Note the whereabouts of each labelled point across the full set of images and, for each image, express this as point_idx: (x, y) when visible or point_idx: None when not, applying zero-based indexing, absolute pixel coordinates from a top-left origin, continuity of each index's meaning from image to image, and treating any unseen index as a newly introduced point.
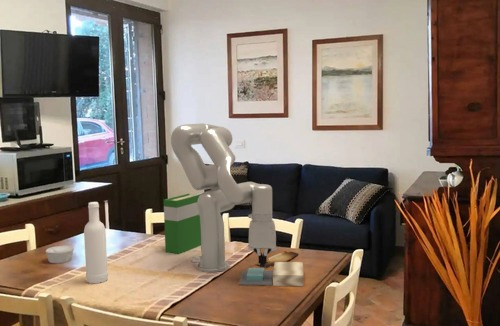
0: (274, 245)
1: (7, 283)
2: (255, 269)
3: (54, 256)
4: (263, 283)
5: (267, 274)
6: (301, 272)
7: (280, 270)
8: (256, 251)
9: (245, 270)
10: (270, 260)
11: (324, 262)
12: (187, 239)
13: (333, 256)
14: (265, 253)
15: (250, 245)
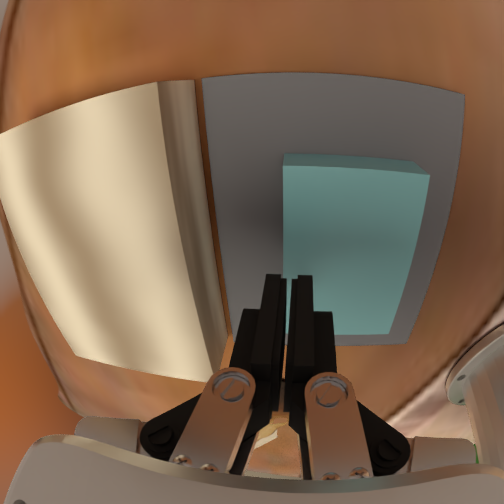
0: (25, 459)
1: None
2: (347, 312)
3: None
4: (272, 92)
5: (261, 288)
6: (5, 195)
7: (121, 226)
8: (368, 432)
9: (394, 342)
10: (267, 426)
11: (85, 384)
12: None
13: (90, 409)
14: (229, 400)
15: (501, 498)
